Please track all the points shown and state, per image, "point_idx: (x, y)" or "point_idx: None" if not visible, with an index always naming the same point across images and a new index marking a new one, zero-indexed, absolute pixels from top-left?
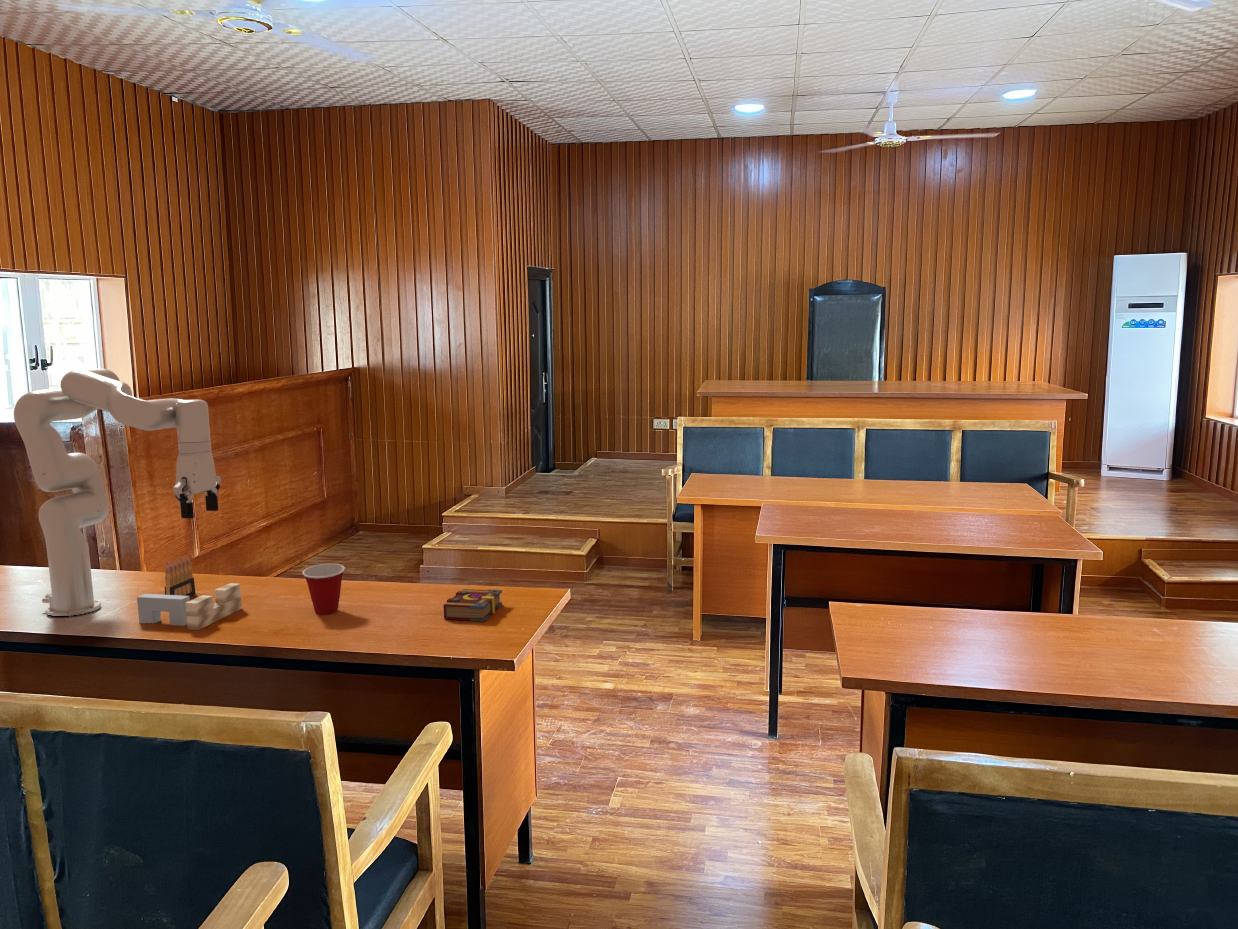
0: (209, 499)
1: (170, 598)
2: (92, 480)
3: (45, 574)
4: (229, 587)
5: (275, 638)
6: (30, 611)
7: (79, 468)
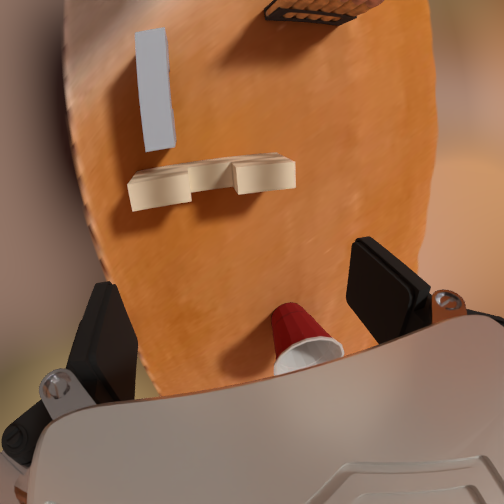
0: (390, 307)
1: (144, 118)
2: None
3: None
4: (262, 187)
5: (160, 331)
6: None
7: None
